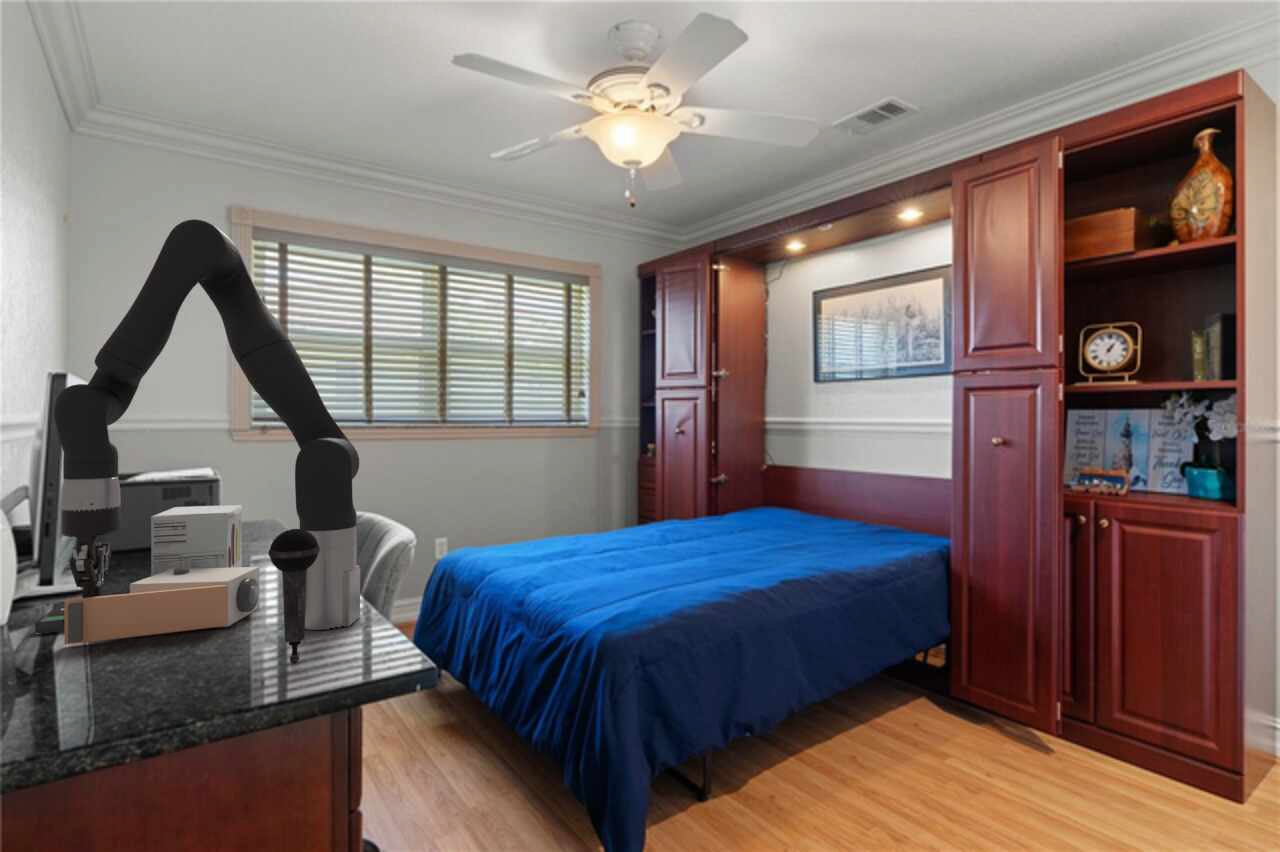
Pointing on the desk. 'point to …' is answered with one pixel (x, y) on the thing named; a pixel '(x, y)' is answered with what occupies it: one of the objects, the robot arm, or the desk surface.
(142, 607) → the door
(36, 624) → the disk drive
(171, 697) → the desk surface
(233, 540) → the supplement box
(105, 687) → the desk surface
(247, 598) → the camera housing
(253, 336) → the robot arm
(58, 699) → the desk surface
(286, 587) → the microphone
